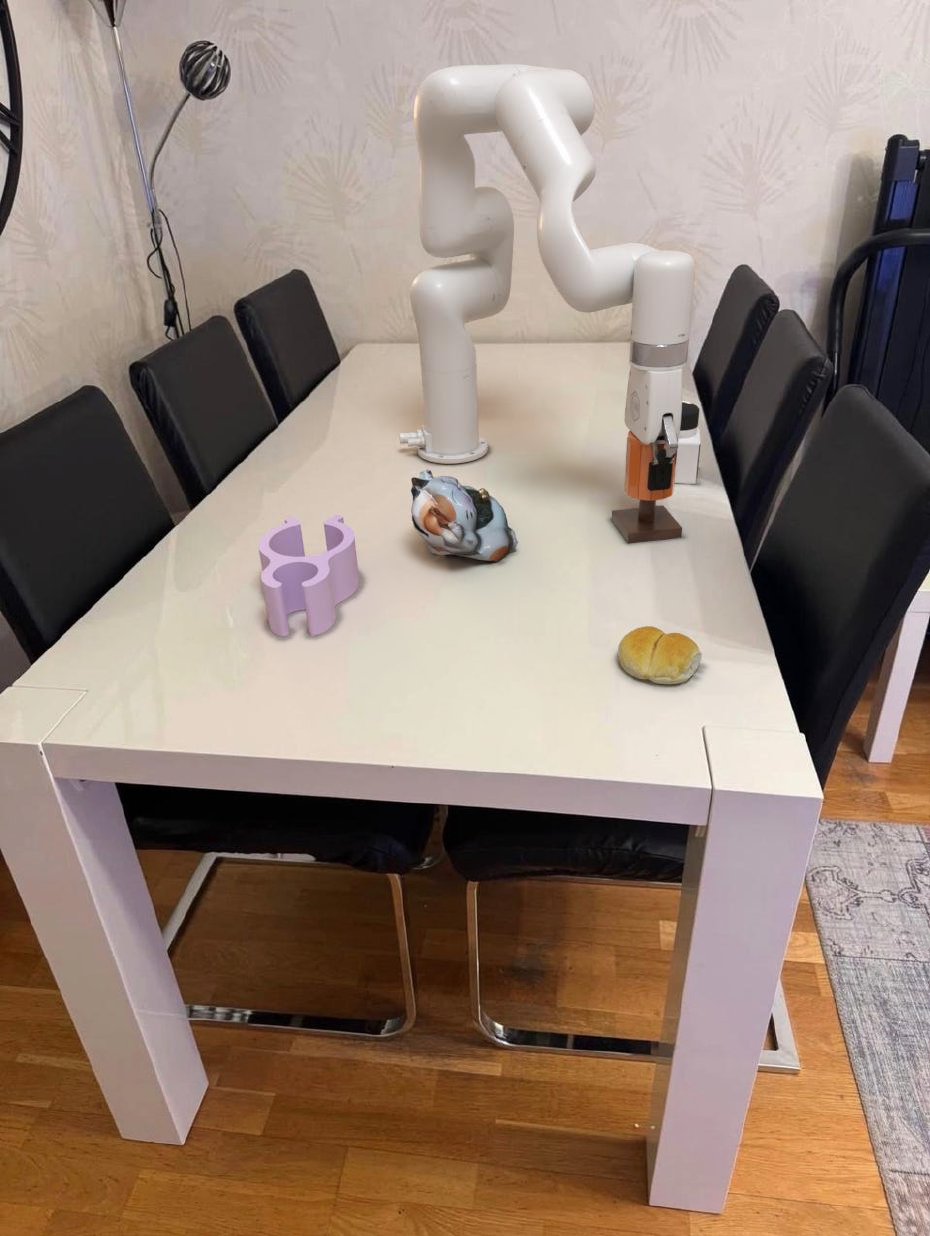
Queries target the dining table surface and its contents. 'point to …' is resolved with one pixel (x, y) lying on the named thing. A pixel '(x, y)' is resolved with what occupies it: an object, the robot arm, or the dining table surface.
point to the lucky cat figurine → (460, 519)
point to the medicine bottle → (688, 445)
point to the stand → (646, 523)
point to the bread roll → (659, 655)
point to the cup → (643, 470)
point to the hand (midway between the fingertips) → (649, 478)
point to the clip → (307, 574)
